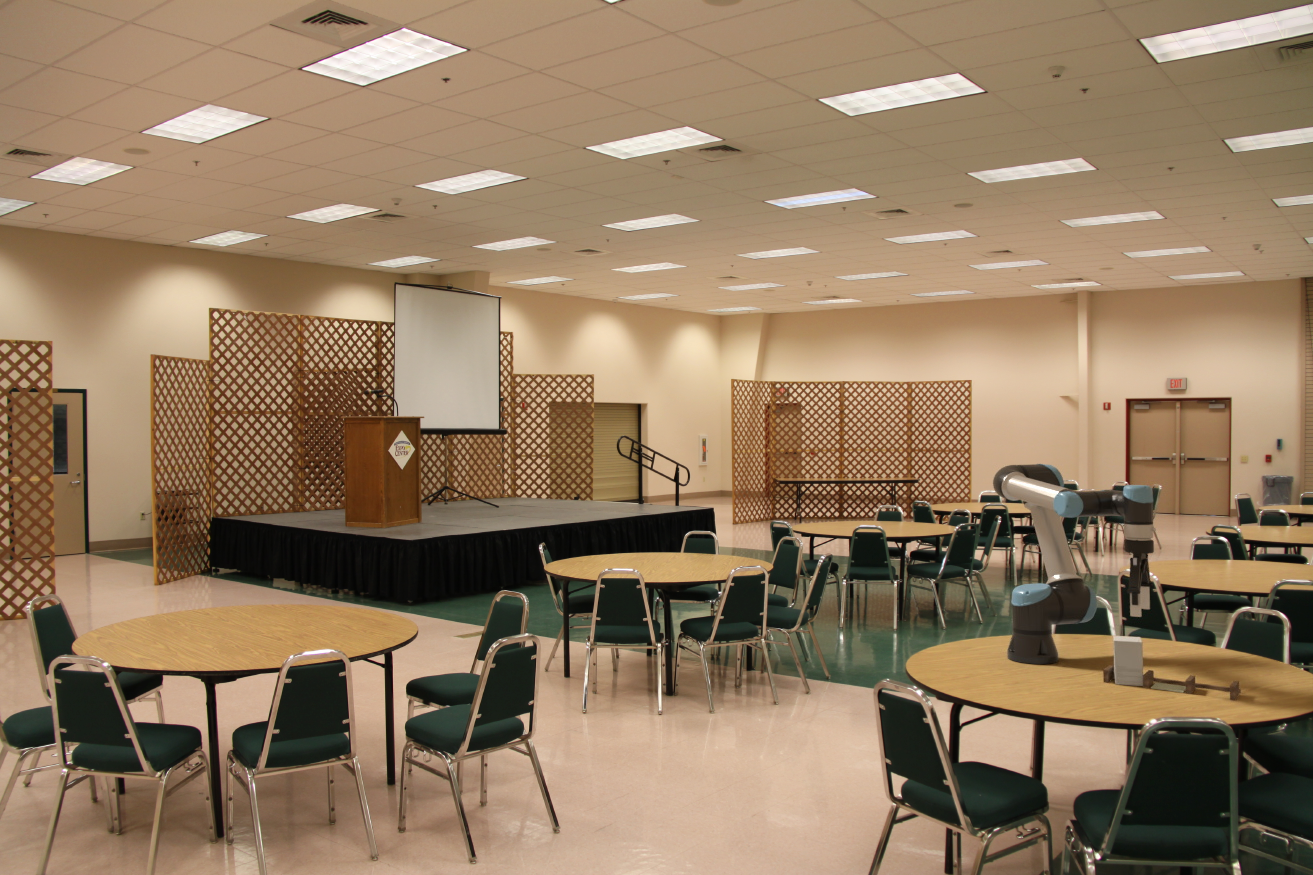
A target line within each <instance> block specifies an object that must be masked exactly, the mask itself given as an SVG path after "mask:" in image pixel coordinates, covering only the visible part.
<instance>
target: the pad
mask: <svg viewBox="0 0 1313 875" xmlns="http://www.w3.org/2000/svg"><path fill="white" fill-rule="evenodd" d="M1150 689H1154V690H1161V691H1170V692H1175V693H1176V692H1177V693H1182V694H1183V693H1186V686H1183V685H1175V684H1167V683H1160V682H1154V683H1153V684H1152V685H1151V686H1150Z"/></svg>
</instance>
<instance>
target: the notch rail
mask: <svg viewBox="0 0 1313 875" xmlns="http://www.w3.org/2000/svg"><path fill="white" fill-rule="evenodd" d="M1102 670H1103V674H1102V678H1103V680H1102V681H1103V683H1110V682H1111V681H1112V680H1114V679H1115V678H1114V664H1112V665H1111V664H1109V665H1107V667H1105V668H1104V669H1102ZM1154 673H1155V672H1154V670H1153V669H1148V670H1147V671H1146V672H1145V673H1143V684H1144V686H1143V689H1144V688H1145V689H1149V688H1151V687H1152V686H1153V685H1154V684H1155V683H1156V682H1157V683H1164V684H1172V685H1179V686H1186V690H1185V694H1187V695H1192V693H1193V692H1194V691H1195V690H1196V688H1200V689H1206V690H1212V691H1213V690H1215V691H1222V692H1227V693H1229V700H1232V701H1236V700H1237V699H1238V697H1239V696H1240V693H1241V690H1242V689H1241V688H1240V681H1238V680H1233V681H1232V683H1231V684H1230V685H1229V686H1222V685H1216V684H1209V683H1208V684H1207V683H1199V682H1196V675H1191V674H1190V675H1189V676H1188V677H1187V678H1186V679H1185V680H1176V679H1168V678H1161V677H1154Z"/></svg>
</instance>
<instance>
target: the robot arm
mask: <svg viewBox="0 0 1313 875" xmlns="http://www.w3.org/2000/svg"><path fill="white" fill-rule="evenodd" d="M1064 482H1065V481H1064V478H1063V475H1062V474H1061V472H1060V471H1059V469H1058V468H1057V467H1055V466H1054V465H1052V464H1043V463H1036V464H1009V465H1005V466H1003V467H1001V468H1000V469H999V470H997V472H996V473H995V474H994V477H993V480H992V488H993V489H994V491H995V493H996V494H997V495H998V496H999V497H1000V498H1002V499H1006V500H1009V501H1013V502H1014V501H1022V503H1023V506H1024V508H1025V509H1027V510H1029V512H1030V515H1031V520H1032V522H1033V526H1034V529H1035V530H1034V531H1035V533H1036V534H1035V535H1036V537H1037V541H1038V544H1039V548H1040V552H1041V556H1042V560H1043V564H1044V566H1045V567H1044V568H1045V571H1046V575H1047V581H1046V583H1040V582H1036V583H1026V584H1021V585H1018V586H1016V587H1014V589H1013V590H1012V594H1011V601H1010V603H1011V613H1012V614H1011V618H1012V634H1011V636H1010V641H1009V644H1008V647H1007V652H1006V654H1007V656H1006V657H1007V659H1009V660H1011V661H1013V662H1017V663H1018V662H1019V663H1022V664H1034V665H1045V664H1054V663H1055V664H1056V663H1057V662H1059V652H1058V649H1057V646H1056V643H1055V640H1054V638H1053V629H1052V628H1053V627H1052V626H1055V625H1069V624H1070V625H1071V624H1073V625H1077V624H1081V623H1082V624H1083V623H1086V622H1087V623H1088V622H1089V621H1091V620H1092V619H1093V618H1094V616H1095V613H1096V612H1097V608H1098V598H1097V595H1096V592H1095V590H1094V589H1093V588H1092V587H1091V586H1088V585H1085V582H1084V579H1083V577H1081V576H1080V575H1078V574H1077V572H1076V568H1075V565H1074V562H1073V558H1072V554H1071V551H1070V547H1069V544H1068V543H1069V542H1068V540H1067V536H1066V533H1065V528H1064V526H1063V523H1062V522H1063V521H1062V518H1069V519H1073V518H1082V517H1083V518H1084V517H1111V516H1112V517H1116V516H1117V517H1123V536H1124V538H1125V539H1124V544H1123V546H1124V547H1123V548H1124V551H1125V553H1128V554H1129V553H1130V554H1132V557H1130V558H1129V564H1130V565H1129V575H1128V576H1129V577H1128V578H1129V579H1128V589H1126V594H1129V604H1130V605H1129V609H1130V610H1129V613H1130V615H1129V616H1130V617H1136V618H1138V617H1139V618H1142V609H1143V610H1150V609H1151V600H1150V599H1151V598H1150V596H1151V595H1150V587H1153V582H1152V581H1151V574H1150V565H1149V554H1153V553H1154V552H1155V549H1154V548H1155V546H1154V545H1155V544H1154V539H1153V538H1154V532H1155V531H1156V530H1157V529H1156V527H1154V500H1155V499H1154V496H1153V495H1154V494H1153V487H1152V486H1150V485H1148V484H1147V485H1145V484H1127V485H1124V487H1123V490H1114V489H1101V490H1089V491H1085V490H1084V491H1083V490H1082V491H1079V490H1078V491H1077V490H1074V489H1070V488H1067V487H1065V483H1064ZM1061 517H1062V518H1061Z"/></svg>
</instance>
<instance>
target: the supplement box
mask: <svg viewBox="0 0 1313 875" xmlns="http://www.w3.org/2000/svg"><path fill="white" fill-rule="evenodd" d="M1112 638H1113V666H1114V678H1113V679H1114V683H1115V685H1119V686H1121V685H1122V686H1135V687H1136V686H1137V687H1144V684H1143V675H1144V653H1143V652H1144V651H1143V648H1144V647H1143V641H1142V637H1141V636H1125V635H1123V636H1122V635H1113V636H1112Z"/></svg>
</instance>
